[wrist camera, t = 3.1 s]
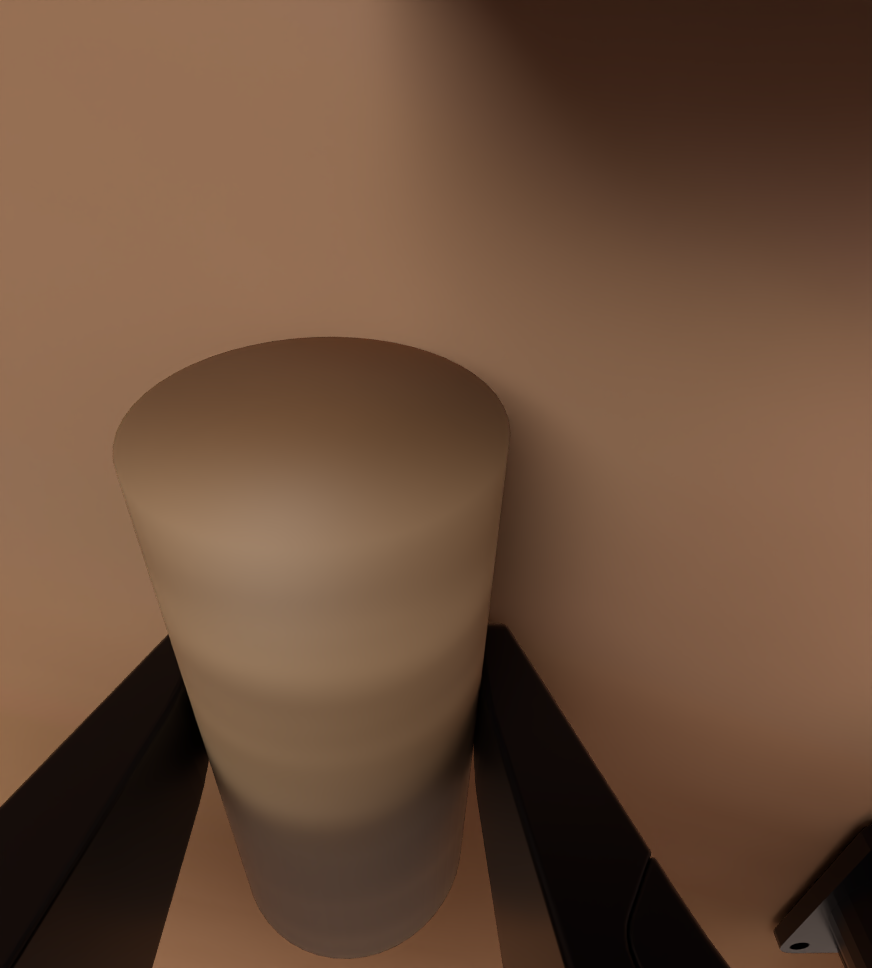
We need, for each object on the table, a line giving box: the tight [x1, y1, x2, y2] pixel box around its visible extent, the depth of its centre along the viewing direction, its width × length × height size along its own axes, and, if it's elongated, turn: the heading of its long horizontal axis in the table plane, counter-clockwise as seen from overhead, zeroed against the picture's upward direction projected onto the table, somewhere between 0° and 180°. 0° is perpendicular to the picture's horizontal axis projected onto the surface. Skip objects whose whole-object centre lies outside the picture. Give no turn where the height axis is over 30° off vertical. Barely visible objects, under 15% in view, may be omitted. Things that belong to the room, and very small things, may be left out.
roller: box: [113, 337, 510, 959], centre depth 8 cm, size 8×4×4 cm, turn 178°
